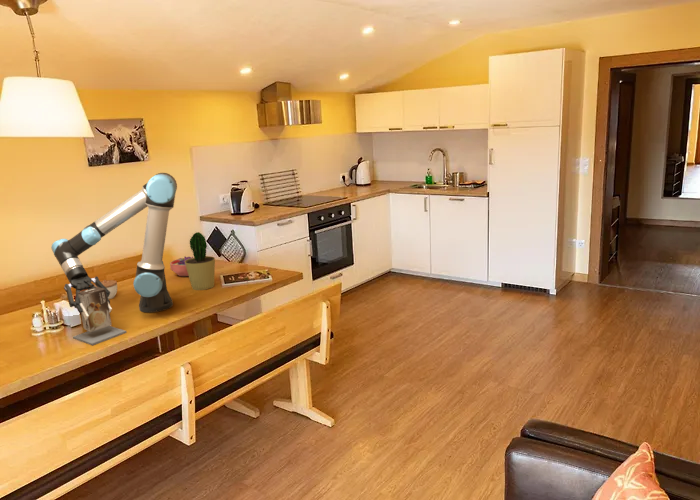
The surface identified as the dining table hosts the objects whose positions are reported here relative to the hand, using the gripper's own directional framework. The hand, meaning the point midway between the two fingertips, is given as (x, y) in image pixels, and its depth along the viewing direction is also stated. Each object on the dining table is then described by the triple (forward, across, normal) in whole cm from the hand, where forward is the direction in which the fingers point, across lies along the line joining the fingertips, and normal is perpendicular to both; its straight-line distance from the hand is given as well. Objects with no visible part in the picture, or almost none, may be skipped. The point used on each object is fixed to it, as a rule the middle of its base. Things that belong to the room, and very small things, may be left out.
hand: (98, 314), depth 223 cm
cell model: (-29, -75, -43) cm, 91 cm away
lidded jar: (-29, -28, -44) cm, 60 cm away
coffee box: (+2, 0, -7) cm, 7 cm away
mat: (+5, 0, -9) cm, 11 cm away
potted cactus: (-9, -66, -23) cm, 71 cm away
